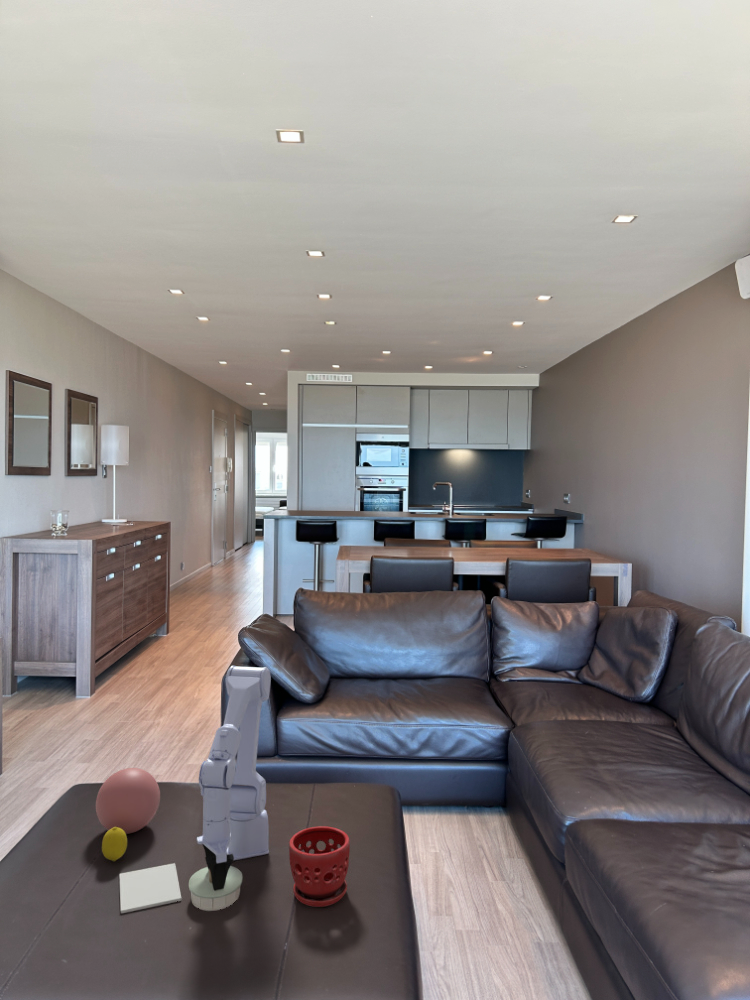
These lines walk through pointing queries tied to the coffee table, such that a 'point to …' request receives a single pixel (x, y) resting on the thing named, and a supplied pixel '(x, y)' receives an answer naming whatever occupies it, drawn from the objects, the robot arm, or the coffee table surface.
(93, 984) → the coffee table surface
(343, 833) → the plant pot
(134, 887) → the mat
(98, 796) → the balloon
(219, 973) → the coffee table surface
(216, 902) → the dish
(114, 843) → the lemon
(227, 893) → the lid
